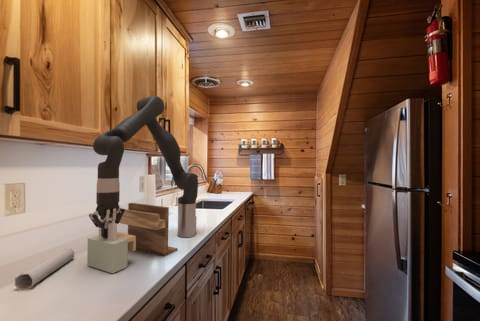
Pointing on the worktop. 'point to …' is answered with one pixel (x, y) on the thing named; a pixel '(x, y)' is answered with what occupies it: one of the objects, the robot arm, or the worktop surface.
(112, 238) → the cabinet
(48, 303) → the worktop surface
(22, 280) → the tube
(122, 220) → the wall board
